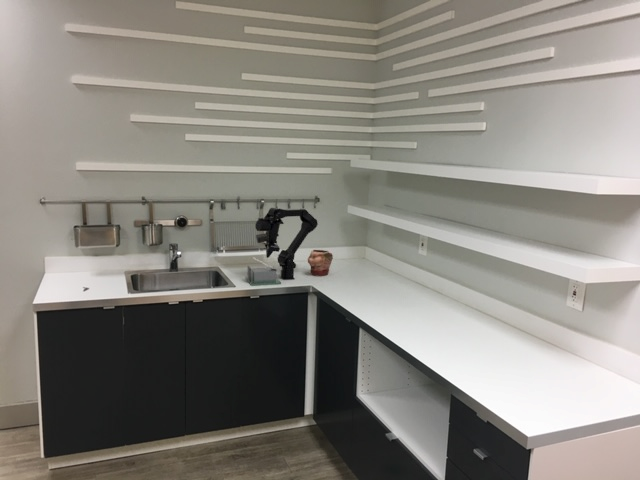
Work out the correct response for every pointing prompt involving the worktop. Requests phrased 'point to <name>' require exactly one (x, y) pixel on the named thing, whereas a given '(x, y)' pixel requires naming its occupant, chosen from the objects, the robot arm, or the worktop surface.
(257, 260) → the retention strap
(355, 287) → the worktop surface
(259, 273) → the green grey square block
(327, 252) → the decorative planter
